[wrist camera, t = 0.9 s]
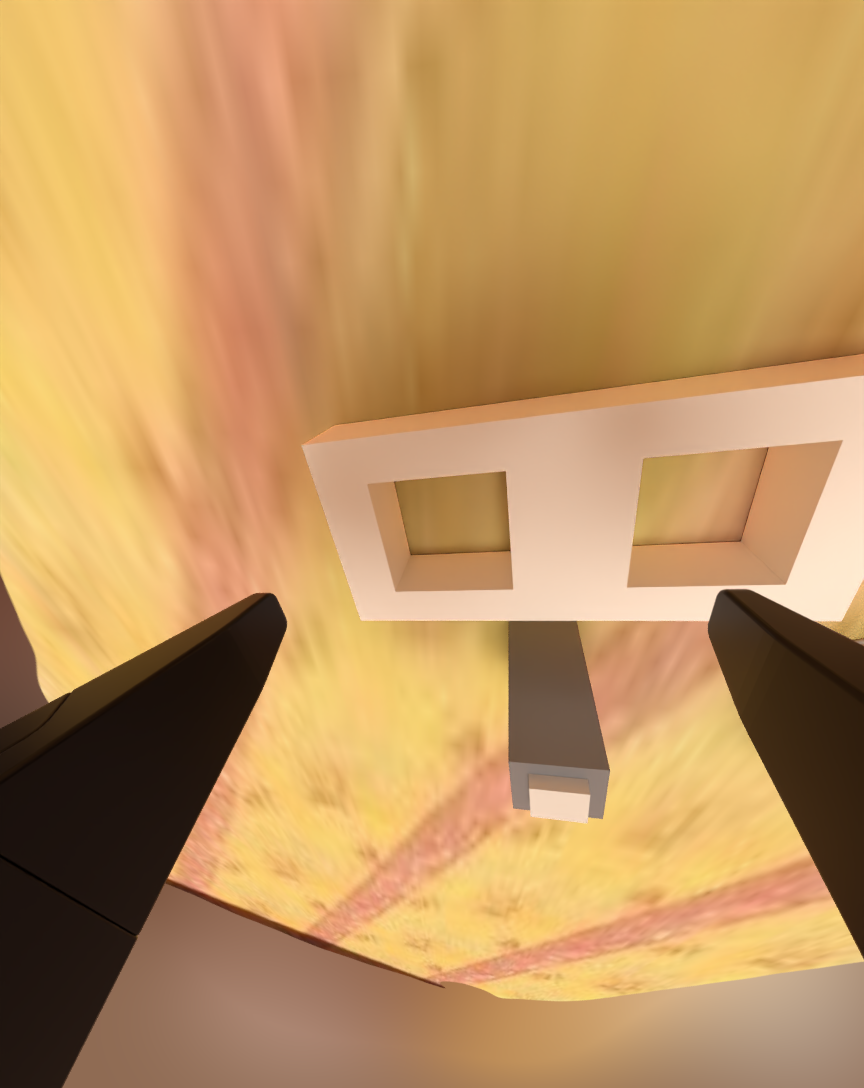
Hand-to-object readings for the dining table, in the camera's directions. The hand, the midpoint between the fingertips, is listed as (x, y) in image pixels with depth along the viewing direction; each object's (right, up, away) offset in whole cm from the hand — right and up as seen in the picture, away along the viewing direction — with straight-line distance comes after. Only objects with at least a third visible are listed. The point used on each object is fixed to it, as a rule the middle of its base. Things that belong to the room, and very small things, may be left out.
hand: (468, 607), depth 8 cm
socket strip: (+6, +4, +11) cm, 13 cm away
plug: (+6, -5, +16) cm, 18 cm away
